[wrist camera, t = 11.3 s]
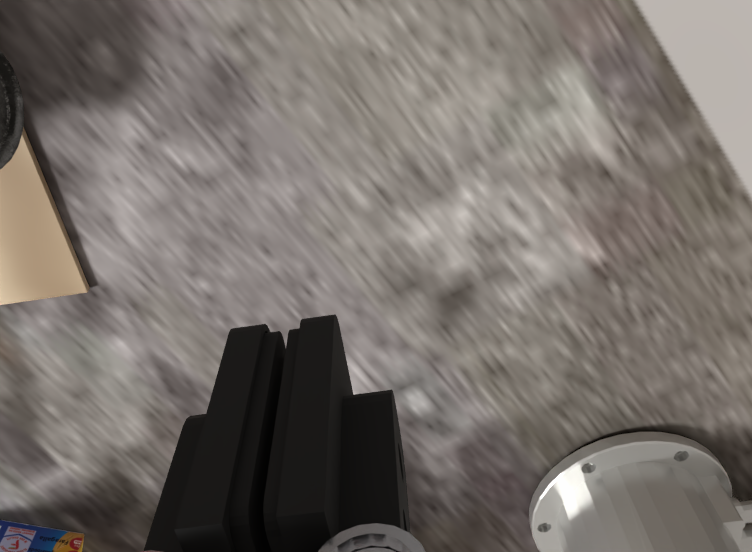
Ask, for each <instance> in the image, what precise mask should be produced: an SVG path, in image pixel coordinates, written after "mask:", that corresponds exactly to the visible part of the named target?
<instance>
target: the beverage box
mask: <svg viewBox="0 0 752 552" xmlns="http://www.w3.org/2000/svg"><path fill="white" fill-rule="evenodd" d="M84 535H85V534H83V533H77V532H71V531H65V530H59V529H53V528H47V527H41V526H35V525H29V524H23V523H17V522H11V521H5V520H0V552H82V548H83V542H84Z"/></svg>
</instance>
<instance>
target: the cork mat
mask: <svg viewBox="0 0 752 552" xmlns="http://www.w3.org/2000/svg"><path fill="white" fill-rule="evenodd" d="M89 289H90V288H89V285H88V283H87V280H86V278H85V275H84V273H83V270H82V268H81V266H80V263H79V261H78V258H77V256H76V253H75V251H74V249H73V246H72V244H71V241H70V239H69V236H68V234H67V232H66V229H65V227H64V224H63V222H62V219H61V217H60V215H59V212H58V210H57V207H56V205H55V202H54V200H53V198H52V195H51V193H50V190H49V188H48V185H47V183H46V181H45V178H44V176H43V173H42V171H41V168H40V166H39V163H38V161H37V159H36V156H35V154H34V151H33V149H32V146H31V144H30V142H29V139H28V137H27V134H26V132H25V129H24V127H23V132H22V136H21V139H20V143H19V146H18V148H17V150H16V152H15V153H14V155H13V157H12V159H11V160H10V161H9V162H8V163H7V164H6V165H5V166H4V167H3V168H2V169H0V305H3V304H10V303H17V302H24V301H31V300H38V299H45V298H52V297H59V296H66V295H72V294H79V293H86V292H88V290H89Z"/></svg>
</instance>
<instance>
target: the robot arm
mask: <svg viewBox="0 0 752 552" xmlns="http://www.w3.org/2000/svg"><path fill="white" fill-rule="evenodd" d="M529 523H530V527H531V531H532V536H533V539H534V541H535V543H536V546H537V548H538V549H539V551H540V552H752V500H750V501H742V502H739V501H738V500H737V499H736V498H735V497H734V498H732V486H731V483H730V480H729V477H728V475H727V473H726V471H725V470H724V468H723V466H722V465H721V463H720V462H719V460H718V459H717V458H716V457H715V456H714V455H713V454H712V453H711V452H710V450H709V449H707V448H706V447H704V446H702V445H701V444H699V443H698V442H696V441H694V440H691V439H688V438H686V437H683V436H680V435H676V434H670V433H664V432H635V433H627V434H620V435H616V436H612V437H609V438H605V439H601V440H599V441H596V442H594V443H592V444H589V445H587V446H584V447H582V448H580V449H579V450H577V451H575V452H574V453H572V454H570V455H569V456H567V457H565V458H564V459H563V460H562V461H561V462H559V463H558V464H557V465H556V466H555V467H553V468H552V469H551V470H550V471H549V472H548V474H547V475H546V476H545V477H544V478H543V479H542V481H541V482H540V484H539V485H538V487H537V489H536V491H535V492H534V494H533V497H532V500H531V504H530V507H529ZM745 523H751V524H745ZM141 552H425V550H424V548H423V546H422V544H421V543H420V542H419V541H418V540H417V539H416V538H414V537H413V536H412V535H411V534H410V523H409V511H408V499H407V486H406V475H405V466H404V457H403V449H402V442H401V435H400V428H399V422H398V416H397V410H396V404H395V399H394V394H393V391H392V390H387V391H379V392H372V393H364V394H356V395H353V391H352V386H351V381H350V376H349V371H348V366H347V361H346V357H345V352H344V347H343V342H342V337H341V332H340V327H339V323H338V319H337V316H336V315H329V316H321V317H314V318H307V319H302V320H301V323H300V329H293V330H289V333H288V340H287V346H286V348H285V344H284V340H283V336H282V334H281V332H280V331H278V332H270V330H269V328H268V326H267V325H266V324H262V325H255V326H248V327H240V328H233V329H231V330H230V332H229V335H228V338H227V342H226V346H225V349H224V353H223V356H222V360H221V363H220V367H219V371H218V374H217V378H216V381H215V385H214V389H213V392H212V396H211V399H210V403H209V406H208V410H207V414H202V415H195V416H190V417H188V418H187V419H186V421H185V423H184V425H183V428H182V431H181V434H180V437H179V441H178V444H177V447H176V450H175V453H174V456H173V460H172V463H171V466H170V469H169V472H168V475H167V479H166V482H165V485H164V488H163V491H162V494H161V498H160V501H159V504H158V507H157V510H156V514H155V517H154V520H153V523H152V526H151V529H150V533H149V536H148V539H147V542H146V545H145V548H144V551H141Z"/></svg>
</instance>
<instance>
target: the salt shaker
mask: <svg viewBox="0 0 752 552" xmlns="http://www.w3.org/2000/svg"><path fill="white" fill-rule="evenodd" d="M23 122H24V108H23V98H22V94H21V90H20V86H19V82H18V80H17V78H16V75H15V73H14V71H13V68H12V66H11V65H10V63H9V62H8V60H7V59H6V57H5V56H4V54H3V53H2V52H1V51H0V169H2V168H3V167H4V166H5V165H6V164H7V163H8V162H9V161H10V160H11V159H12V157H13V155H14V153H15V152H16V150H17V148H18V146H19V143H20V139H21V136H22V132H23Z"/></svg>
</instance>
